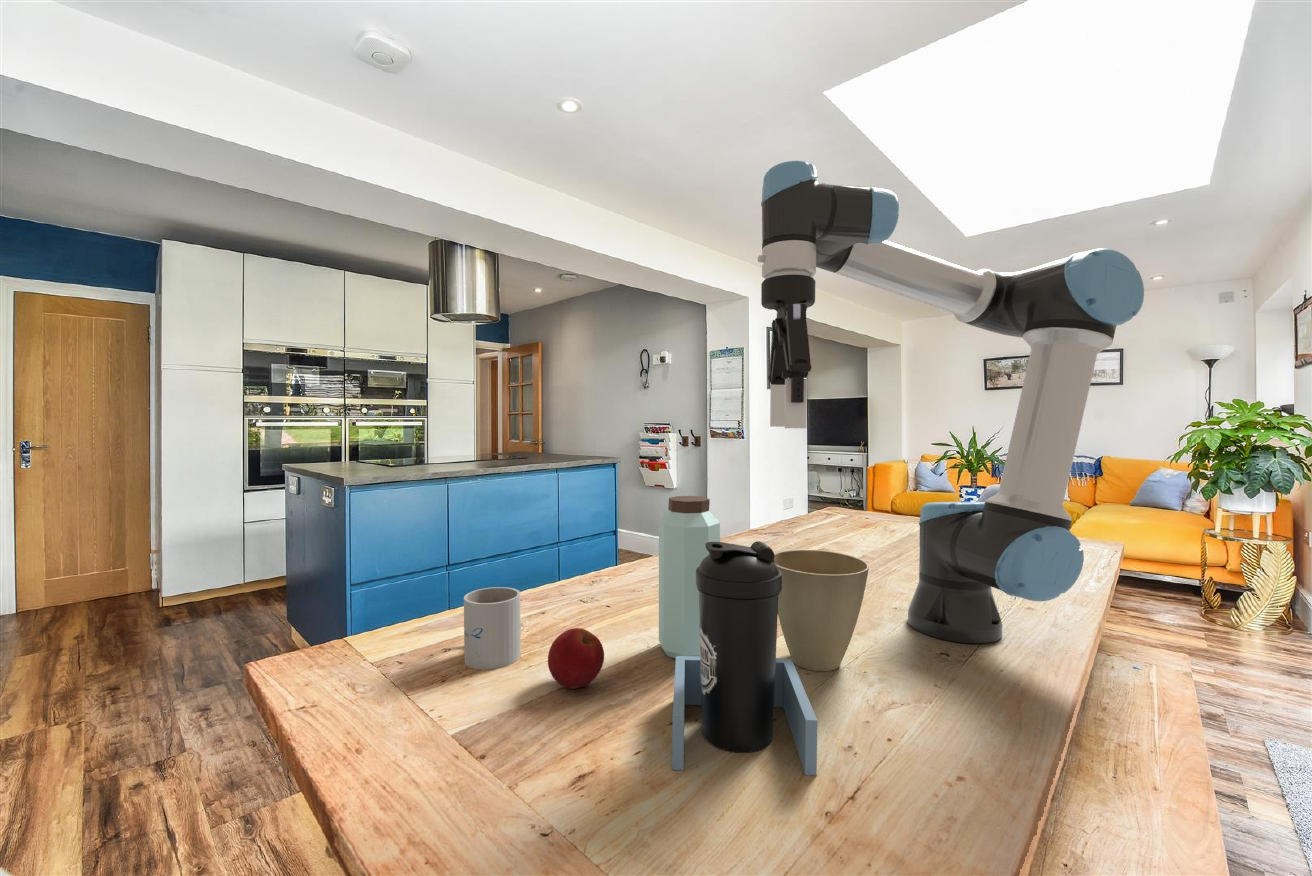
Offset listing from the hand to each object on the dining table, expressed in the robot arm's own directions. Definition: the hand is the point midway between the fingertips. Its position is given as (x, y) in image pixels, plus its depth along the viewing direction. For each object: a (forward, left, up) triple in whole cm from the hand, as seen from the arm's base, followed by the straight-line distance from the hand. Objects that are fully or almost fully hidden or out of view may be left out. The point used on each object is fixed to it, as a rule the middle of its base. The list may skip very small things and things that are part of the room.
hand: (786, 427), depth 82 cm
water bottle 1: (+14, -9, -37) cm, 40 cm away
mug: (+46, -6, -37) cm, 59 cm away
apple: (+30, +4, -37) cm, 48 cm away
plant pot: (-6, -6, -37) cm, 38 cm away
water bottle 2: (+8, +15, -37) cm, 41 cm away
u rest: (+8, +15, -37) cm, 40 cm away
